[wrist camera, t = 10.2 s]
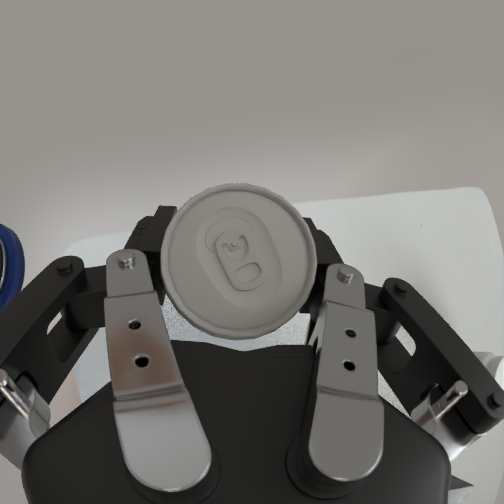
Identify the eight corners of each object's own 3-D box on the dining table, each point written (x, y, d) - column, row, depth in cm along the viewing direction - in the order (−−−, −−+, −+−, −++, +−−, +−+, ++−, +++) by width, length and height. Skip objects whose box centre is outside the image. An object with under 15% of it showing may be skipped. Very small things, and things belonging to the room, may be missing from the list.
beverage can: (237, 245, 21) (275, 158, 9) (268, 307, 20) (347, 293, 8) (175, 274, 20) (131, 217, 8) (205, 338, 19) (201, 371, 7)
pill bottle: (445, 395, 26) (494, 406, 18) (436, 366, 27) (489, 372, 19) (467, 372, 27) (515, 377, 19) (459, 343, 28) (510, 343, 20)
